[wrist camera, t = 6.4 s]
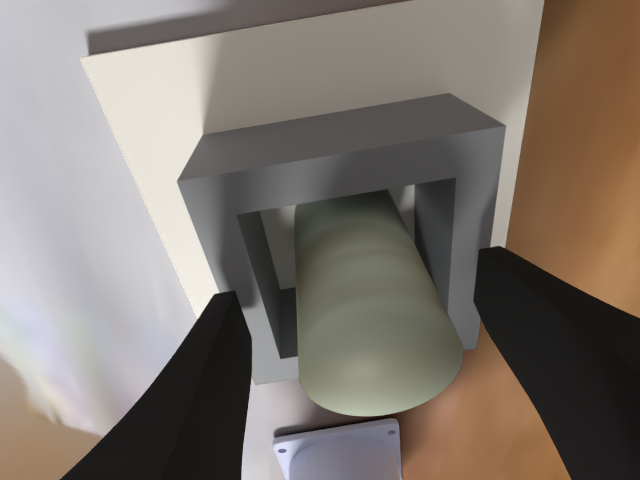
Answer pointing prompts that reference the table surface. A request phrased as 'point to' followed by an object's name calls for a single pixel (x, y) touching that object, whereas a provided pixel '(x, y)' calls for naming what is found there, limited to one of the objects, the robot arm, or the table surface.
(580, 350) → the robot arm
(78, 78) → the table surface
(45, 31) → the table surface
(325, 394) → the peg
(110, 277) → the table surface
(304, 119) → the socket
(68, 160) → the table surface
